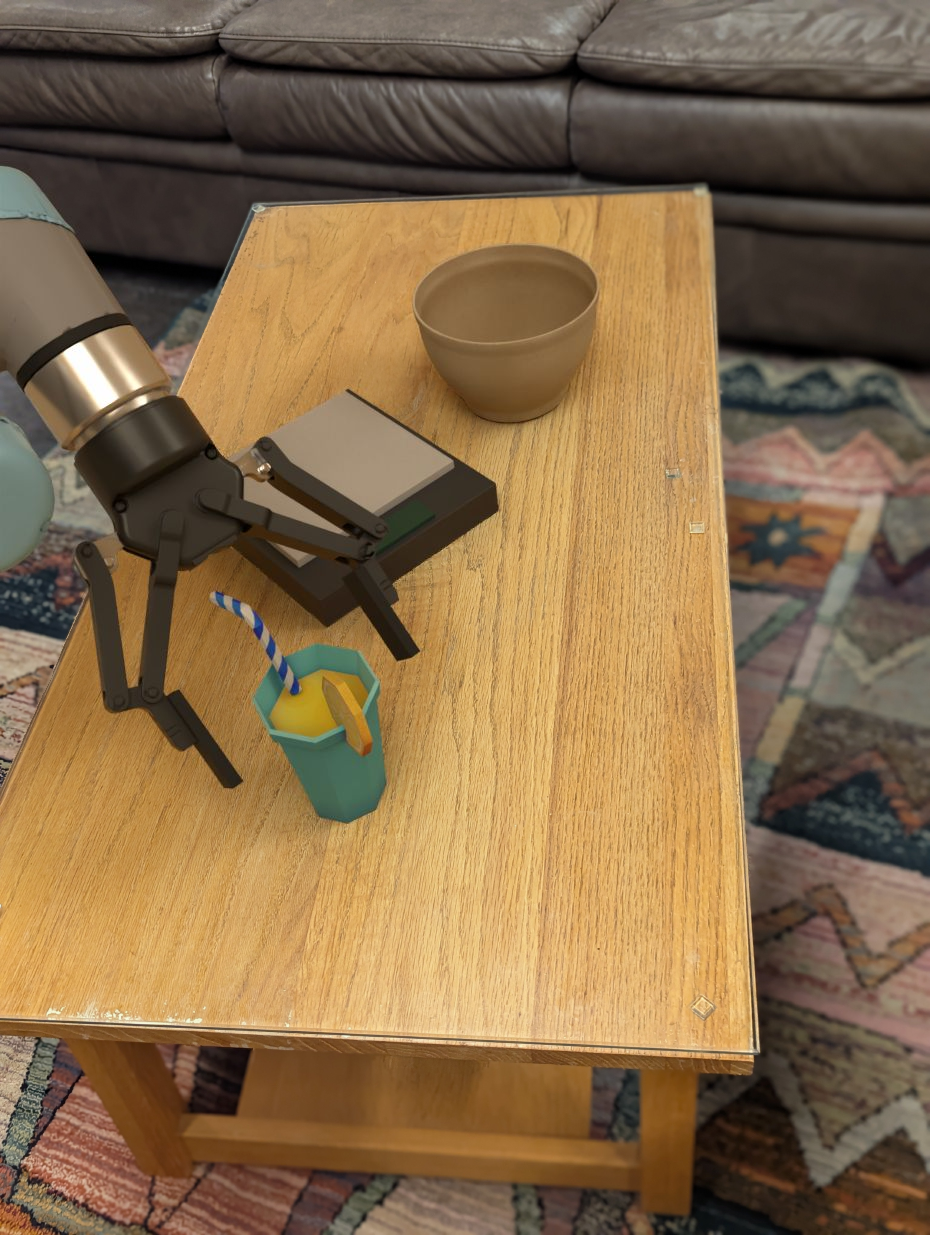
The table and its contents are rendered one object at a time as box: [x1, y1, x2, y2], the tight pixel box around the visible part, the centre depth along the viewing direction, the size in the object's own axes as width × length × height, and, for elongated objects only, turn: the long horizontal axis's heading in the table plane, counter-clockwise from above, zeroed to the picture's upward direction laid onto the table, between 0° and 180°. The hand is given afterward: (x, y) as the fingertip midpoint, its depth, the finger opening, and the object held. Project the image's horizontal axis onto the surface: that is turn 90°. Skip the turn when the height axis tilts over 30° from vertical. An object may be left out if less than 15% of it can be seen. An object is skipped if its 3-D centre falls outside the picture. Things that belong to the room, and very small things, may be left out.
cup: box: [208, 590, 387, 824], centre depth 67 cm, size 14×8×15 cm, turn 50°
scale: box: [225, 388, 500, 628], centre depth 90 cm, size 18×20×4 cm
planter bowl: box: [411, 242, 600, 423], centre depth 96 cm, size 16×16×11 cm
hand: (325, 718), depth 66 cm, fingers open, 13 cm apart
